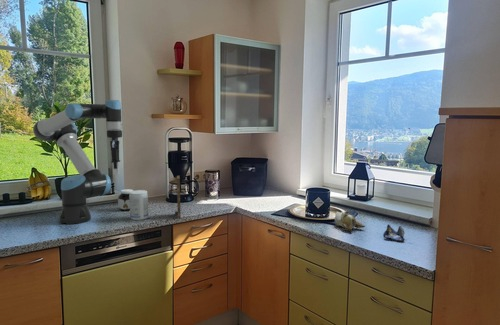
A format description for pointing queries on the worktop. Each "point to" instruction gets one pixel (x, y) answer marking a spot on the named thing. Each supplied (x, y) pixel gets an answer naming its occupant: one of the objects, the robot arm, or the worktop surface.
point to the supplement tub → (138, 204)
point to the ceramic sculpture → (346, 221)
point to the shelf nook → (177, 180)
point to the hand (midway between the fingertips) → (116, 174)
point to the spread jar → (124, 200)
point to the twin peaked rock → (394, 233)
